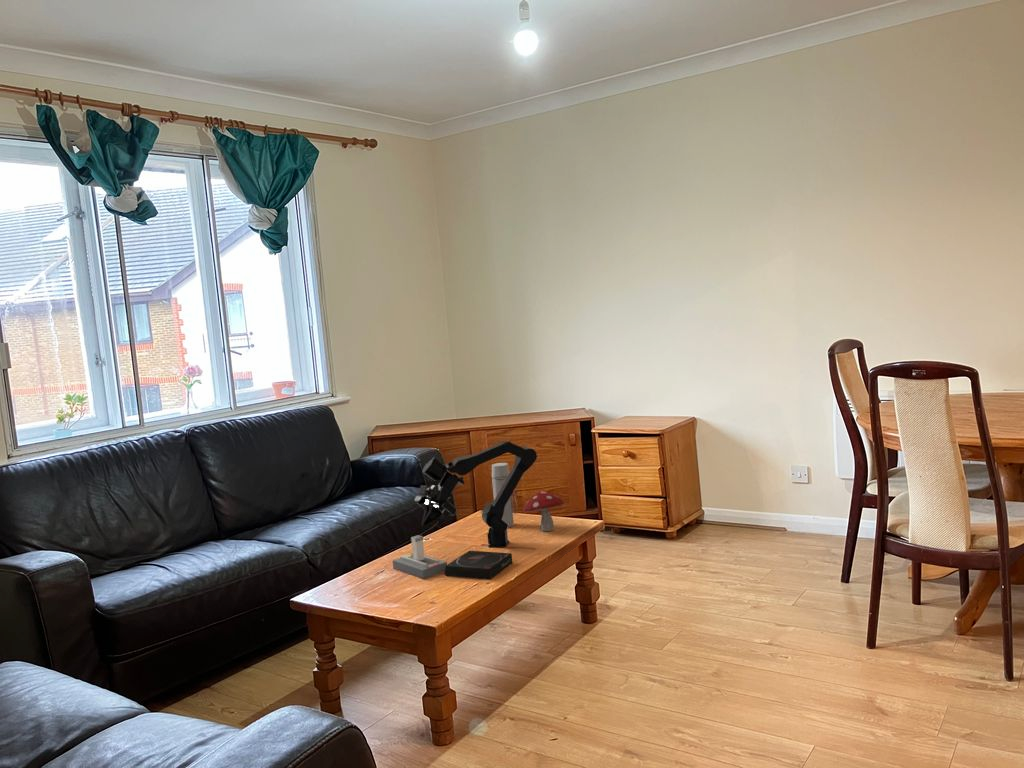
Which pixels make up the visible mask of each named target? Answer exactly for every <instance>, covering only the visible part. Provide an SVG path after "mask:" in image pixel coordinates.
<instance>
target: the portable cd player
mask: <svg viewBox="0 0 1024 768" xmlns="http://www.w3.org/2000/svg"><path fill="white" fill-rule="evenodd" d="M512 563H513V554H512V552H510V553H508V552H499V551H495V552H494V551H485V550H484V551H481V550H468V551H466V552H465V553H463V554H462V555H460V556H458V557H457V558H455V559H454V560H452V561H450V562H449V563H447V565H446V566H445V572H443V573H444V575H445V577H453V578H454V577H455V578H464V579H473V580H474V579H476V580H486V581H487V580H489V581H491V580H492V579H493V578H495V577H496V576H497V575H499V574H500V573H502V572H503V571H504V570H506V569H507V568H509V567H510V566H511V565H513V564H514V563H513V564H512ZM510 564H511V565H510ZM509 565H510V566H509ZM505 568H506V569H505ZM501 571H502V572H501Z"/></svg>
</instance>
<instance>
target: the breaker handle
mask: <svg viewBox="0 0 1024 768" xmlns="http://www.w3.org/2000/svg"><path fill="white" fill-rule="evenodd" d="M410 541H411V548H412V549H411V550H412V553H413V559H414V560H417V561H421V560H424V559H425V556H424V555H425V548H424V547H425V545H424V536H423V535H419V534H417V535H415V536H411V537H410Z"/></svg>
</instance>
